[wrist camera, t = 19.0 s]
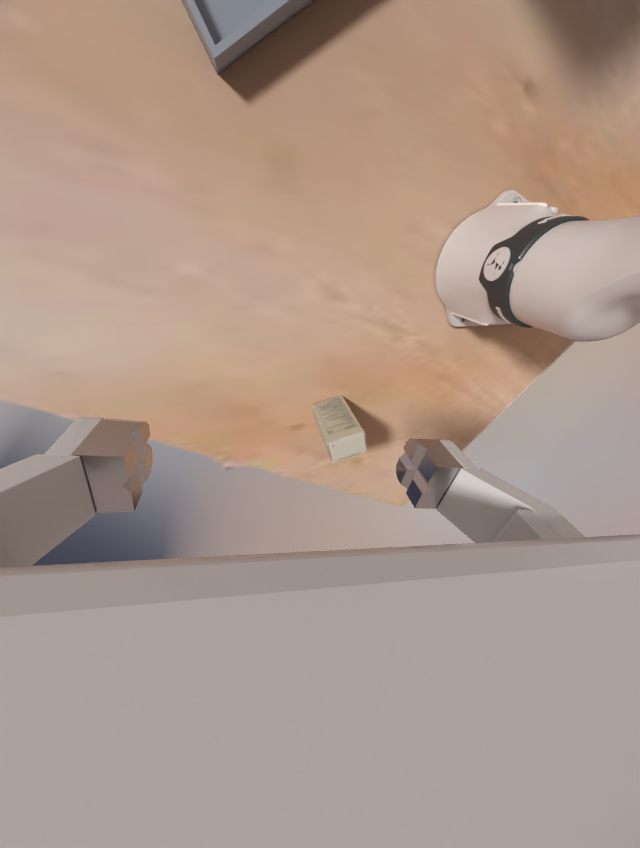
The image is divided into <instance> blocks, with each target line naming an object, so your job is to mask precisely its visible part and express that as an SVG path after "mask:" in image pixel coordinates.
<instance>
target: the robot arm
mask: <svg viewBox="0 0 640 848" xmlns="http://www.w3.org/2000/svg"><path fill="white" fill-rule="evenodd" d="M558 212H559V209H557V208H555V207H549V208H547V204H546V203H531V202H529V201H528V200H527V199H525V198H524V197H523V196H522V195H520V194H519V193H518V192H517V191H515V190H506V191H504V192H503V193H502V194H501V195H499V196H498V197H497V198H496V199H495V200H494V201H493V202H492V203H491V205H490V206H488V207H487V208H485V209H483V210H481V211H479V212H477V213H475V214H473V215H471V216H470V217H468V218H467V219H465V220H464V221H463V222H462V223H461V224H460V225H459V226H458V227H457V228H456V229H455V230H454V231H453V233H452V234H451V235H450V237H449V238H448V240H447V242H446V243H445V245H444V247H443V249H442V252H441V254H440V257H439V260H438V264H437V269H436V287H437V292H438V295H439V297H440V299H441V301H442V302H443V304H444V305H445V307H446V310H447V318H448V322H449V324H450V325H451V326H455V327H462V326H484V325H485V326H488V325H506V324H512V325H515V326H516V325H517V326H522V327H529V328H530V327H535V328H538V329H541V330H544V331H547V332H550V333H553V334H556V335H559V336H562V337H564V338H567V339H570V340H573V341H597V340H603V339H607V338H610V337H613V336H616V335H618V334H621V333H623V332H625V331H626V330H628V329H630V328H632V327H634V326H635V325H637V324H638V323H640V216H632V217H625V218H615V219H605V220H589V219H587V218H585V217H580V216H571V215H566V214H560V215H557V214H558ZM462 318H464V319H463V320H462ZM461 320H462V321H461ZM149 436H150V430H149V424H148V423H147V422H145V421H133V420H120V419H108V418H105V419H104V418H94V417H80V418H78V419H76V421H75V422H74V423H73V424H72V425H71V426H70V427H69V428H68V429H67V430H66V431H65V432H64V434H63V435H62V436H61V437H60V438H59V439H58V440H57V441H56V442H55V443H54V445H52V447H51V448H50V449H49V450H48V451H47V452H46V453H45V454H44V455H34V456H31V457H29V458H26V459H24V460H21V461H19V462H16V463H14V464H11V465H9V466H7V467H4V468H2V469H0V848H640V534H639V535H619V536H600V537H585V536H583V535H582V534H581V533H580V532H579V531H578V530H577V529H576V528H575V527H574V526H573V525H572V524H571V523H569V522H568V521H567V520H566V519H565V518H564V517H563V516H562V515H561V514H560V513H559V512H558V511H557V510H555V509H554V508H553V507H551V506H549V505H547V504H545V503H543V502H542V501H540V500H538V499H536V498H534V497H532V496H531V495H529V494H527V493H525V492H523V491H521V490H519V489H518V488H516V487H514V486H512V485H510V484H508V483H507V482H505V481H503V480H501V479H499V478H497V477H495V476H494V475H492V474H490V473H488V472H486V471H484V470H483V469H478V468H477V467H476V466H475V465H474V464H473V463H472V462H471V461H470V460H469V459H468V458H467V457H466V456H465V455H464V454H463V453H462V452H461V450H460V449H459V448H458V447H457V446H456V445H455V444H454V443H453V442H452V441H450V440H443V439H435V440H434V439H409V440H408V441H407V442H406V444H405V446H404V450H405V454H403V455H402V456H401V457H400V458H399V460H398V462H397V465H396V474H397V478H398V480H399V482H400V484H402V485H403V486H404V487H406V488H407V492H406V494H407V496H408V497H409V499H410V501H411V502H412V504H413V505H414V508H434V509H435V508H436V509H437V511H439V512H440V513H441V514H442V515H443V516H444V517H446V518H447V519H448V520H449V521H450V522H452V523H453V524H454V525H455V526H456V527H457V528H458V529H460V530H461V531H462V532H463V533H464V534H465V535H467V536H468V537H469V538H470V539H472V540H473V541H474V542H475V543H467V544H447V545H428V546H409V547H390V548H370V549H350V550H330V551H311V552H292V553H273V554H255V555H236V556H216V557H199V558H177V559H158V560H140V561H122V562H121V561H119V562H100V563H81V564H64V565H63V564H62V565H43V566H31V565H33V564H34V563H35V562H36V561H38V560H39V559H40V558H42V557H43V556H44V555H45V554H47V553H48V552H49V551H50V550H52V549H53V548H54V547H55V546H57V545H58V544H59V543H61V542H62V541H63V540H64V539H65V538H67V537H68V536H69V535H71V534H72V533H73V532H74V531H76V530H77V529H78V528H80V527H81V526H82V525H83V524H85V523H86V522H87V521H88V520H90V519H91V518H92V517H93V516H95V515H96V513H102V512H131V511H135V509H136V507H137V504H138V502H139V499H140V497H141V494H142V485H141V484H142V483H144V482H146V481H147V480H148V478H149V475H150V472H151V467H152V448H151V446H149V445H148V444H147V441H148V439H149Z"/></svg>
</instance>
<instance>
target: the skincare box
mask: <svg viewBox="0 0 640 848" xmlns="http://www.w3.org/2000/svg"><path fill="white" fill-rule="evenodd" d="M312 408H313V412H314V416H315V419H316V422H317V425H318V428H319V430H320V433H321V435H322V438H323V441H324V443H325V446H326V448H327V451H328V453H329V456H330V458H331V461H332V462H335V461H339V460H342V459H345V458H348V457H352V456H355V455H358V454H361V453H363V452H366V451H367V445H366V436H365V431H364V430H363V428H362V427H361V425H360V423H359V422H358V420H357V418H356V417H355V415H354V413H353V412H352V410H351V409H350V407H349V405H348V404H347V402H346V400H345V399H344V397H343V396H339V397H335V398H332V399H329V400H325V401H322V402H319V403H316V404H313V405H312Z"/></svg>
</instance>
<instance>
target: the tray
mask: <svg viewBox="0 0 640 848" xmlns="http://www.w3.org/2000/svg"><path fill="white" fill-rule="evenodd" d="M313 1H314V0H182V2H183V4H184V6H185V8H186V10H187V12H188V14H189V16H190V18H191V20H192V23H193V25H194V27H195V29H196V31H197V33H198V35H199V37H200V39H201V41H202V43H203V45H204V47H205V49H206V51H207V53H208V55H209V58H210V60H211V62H212V64H213V66H214V68H215V70H216V72H217V74H219V73H220V72H222V71H223V70H224V69H225V68H227V67H228V66H229V65H231V64H232V63H233V62H235V61H236V60H237V59H239V58H240V57H241V56H242V55H244V54H245V53H246V52H248V51H249V50H250V49H252V48H253V47H254V46H255V45H257V44H258V43H259V42H261V41H262V40H263V39H265V38H266V37H267V36H269V35H270V34H271V33H272V32H274V31H275V30H276V29H278V28H279V27H280V26H282V25H283V24H284V23H285V22H287V21H288V20H289V19H291V18H292V17H293V16H295V15H296V14H297V13H299V12H300V11H301V10H302V9H304V8H305V7H306V6H308V5H309V4H310V3H312V2H313Z"/></svg>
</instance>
